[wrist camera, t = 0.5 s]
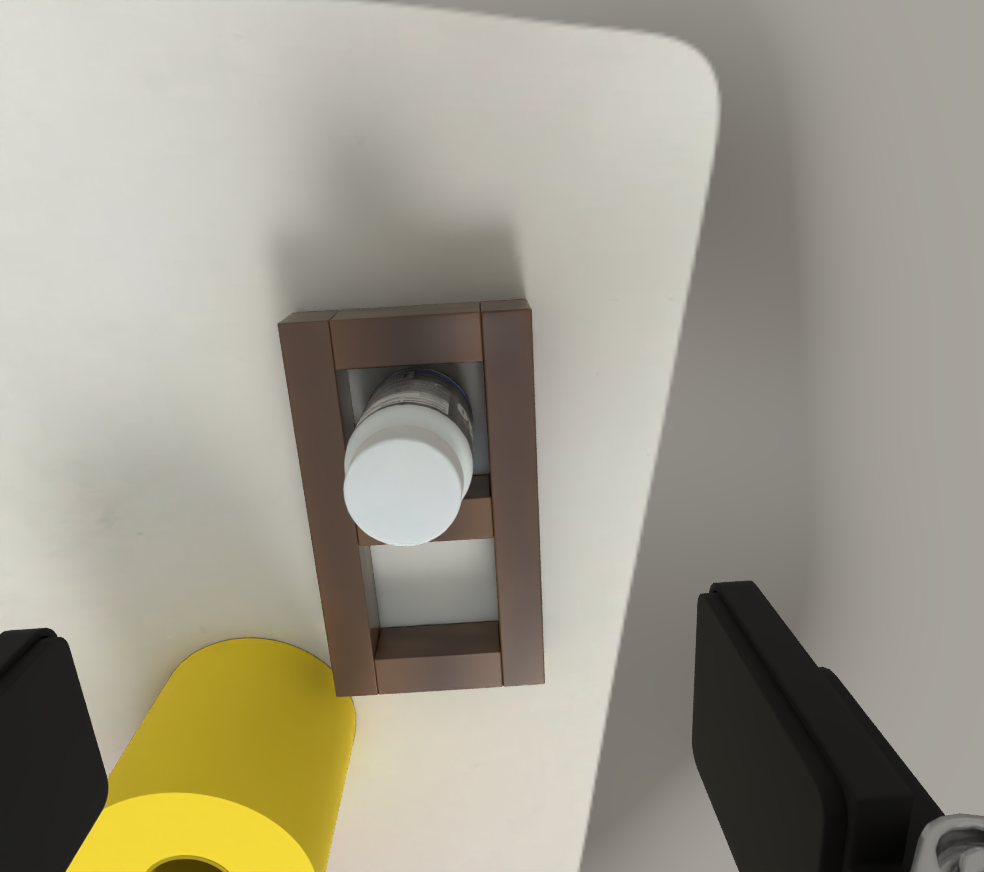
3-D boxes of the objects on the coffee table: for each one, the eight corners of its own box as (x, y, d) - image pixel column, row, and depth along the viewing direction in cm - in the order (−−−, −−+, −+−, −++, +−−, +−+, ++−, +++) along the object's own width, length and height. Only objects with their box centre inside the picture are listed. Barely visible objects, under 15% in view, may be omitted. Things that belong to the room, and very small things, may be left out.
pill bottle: (467, 471, 32) (466, 564, 24) (364, 461, 32) (328, 552, 24) (478, 370, 31) (480, 435, 23) (369, 360, 30) (333, 421, 22)
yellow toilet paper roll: (380, 670, 36) (349, 831, 27) (325, 812, 39) (281, 998, 30) (184, 614, 34) (83, 763, 25) (143, 766, 37) (40, 947, 28)
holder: (345, 663, 36) (336, 697, 33) (292, 312, 30) (277, 323, 27) (540, 651, 36) (544, 684, 33) (527, 298, 30) (531, 308, 27)
